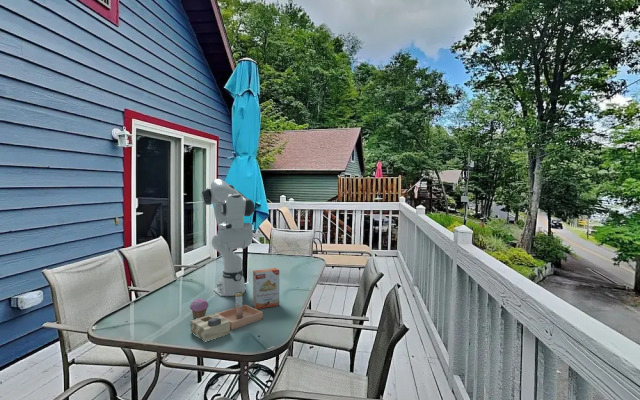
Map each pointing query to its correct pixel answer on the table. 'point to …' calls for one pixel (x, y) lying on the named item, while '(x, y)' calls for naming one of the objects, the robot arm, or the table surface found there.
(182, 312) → the table surface
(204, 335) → the block
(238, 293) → the pin
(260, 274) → the cracker box
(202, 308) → the cupcake
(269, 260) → the table surface
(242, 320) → the tray
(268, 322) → the table surface
